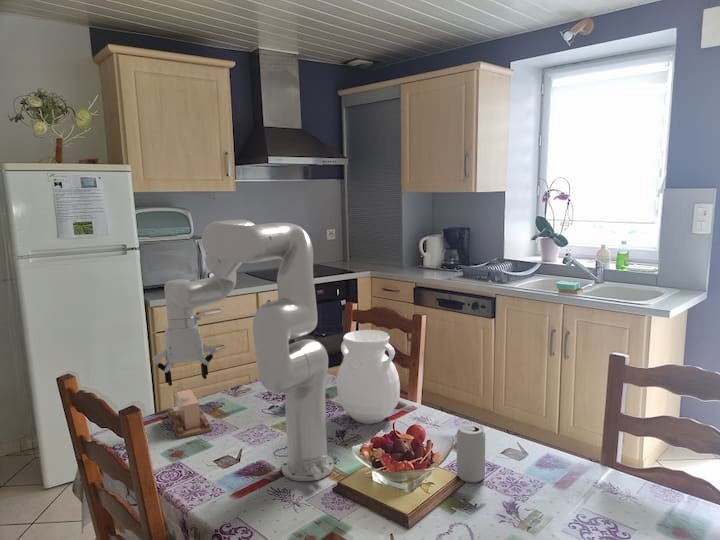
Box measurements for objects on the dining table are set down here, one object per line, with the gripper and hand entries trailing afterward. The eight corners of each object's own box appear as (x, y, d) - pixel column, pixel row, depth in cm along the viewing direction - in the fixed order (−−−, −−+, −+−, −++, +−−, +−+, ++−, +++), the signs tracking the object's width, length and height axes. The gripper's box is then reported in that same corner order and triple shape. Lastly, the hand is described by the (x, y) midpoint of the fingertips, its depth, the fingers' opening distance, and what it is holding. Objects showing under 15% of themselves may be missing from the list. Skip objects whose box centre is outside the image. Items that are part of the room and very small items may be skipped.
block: (192, 411, 163) (190, 389, 162) (200, 426, 152) (198, 402, 151) (178, 414, 161) (176, 392, 160) (185, 429, 150) (184, 405, 149)
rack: (211, 431, 151) (211, 424, 151) (178, 439, 147) (177, 431, 146) (198, 409, 167) (197, 402, 166) (167, 415, 162) (167, 408, 162)
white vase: (324, 422, 155) (321, 338, 152) (359, 401, 170) (358, 324, 167) (379, 437, 145) (377, 347, 141) (411, 413, 160) (411, 331, 156)
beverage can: (483, 486, 120) (483, 435, 118) (454, 481, 122) (454, 432, 120) (486, 472, 126) (487, 424, 124) (459, 468, 128) (459, 420, 126)
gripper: (209, 316, 159) (214, 372, 162) (147, 325, 151) (153, 383, 154) (215, 320, 153) (220, 378, 155) (151, 330, 145) (157, 391, 147)
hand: (187, 381), depth 154 cm, fingers open, 9 cm apart
